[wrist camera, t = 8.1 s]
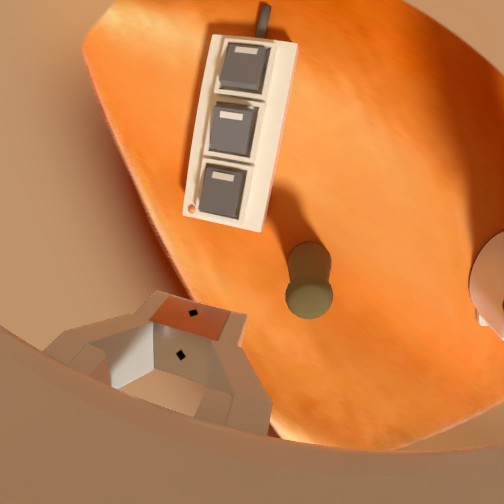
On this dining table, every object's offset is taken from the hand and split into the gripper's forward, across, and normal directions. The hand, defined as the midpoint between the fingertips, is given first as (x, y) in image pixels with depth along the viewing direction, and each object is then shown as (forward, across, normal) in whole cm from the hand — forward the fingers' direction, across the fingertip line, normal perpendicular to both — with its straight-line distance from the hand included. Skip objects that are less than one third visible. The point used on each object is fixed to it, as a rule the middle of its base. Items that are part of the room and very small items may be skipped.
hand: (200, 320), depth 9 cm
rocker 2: (+25, +6, -6) cm, 26 cm away
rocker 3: (+25, +6, +2) cm, 26 cm away
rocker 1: (+25, +6, -13) cm, 29 cm away
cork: (+31, -6, +10) cm, 33 cm away
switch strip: (+31, +6, -9) cm, 33 cm away
